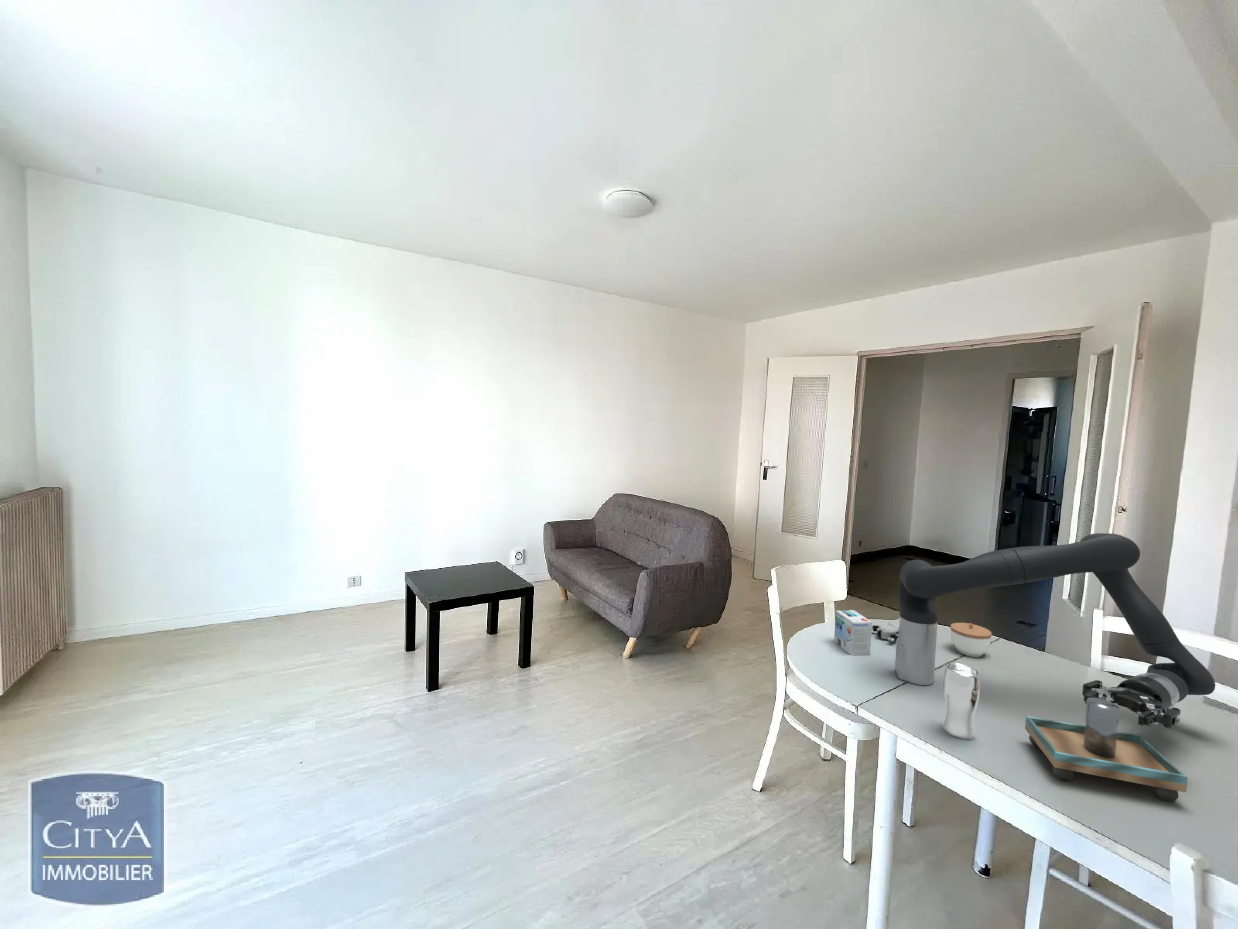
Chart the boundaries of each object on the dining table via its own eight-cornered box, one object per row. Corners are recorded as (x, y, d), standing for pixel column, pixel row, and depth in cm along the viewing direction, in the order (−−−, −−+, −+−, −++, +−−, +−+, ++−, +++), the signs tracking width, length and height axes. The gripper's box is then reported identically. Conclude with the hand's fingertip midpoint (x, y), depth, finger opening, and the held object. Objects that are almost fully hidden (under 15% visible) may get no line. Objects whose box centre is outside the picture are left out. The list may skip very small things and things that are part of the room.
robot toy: (891, 650, 164) (929, 642, 168) (891, 636, 164) (929, 629, 167) (864, 635, 176) (900, 628, 179) (864, 622, 175) (900, 616, 179)
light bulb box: (833, 641, 168) (834, 609, 167) (852, 641, 168) (854, 609, 168) (850, 656, 157) (852, 622, 156) (871, 655, 158) (873, 621, 157)
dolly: (1053, 781, 101) (1055, 753, 101) (1024, 741, 114) (1026, 716, 114) (1184, 807, 95) (1187, 777, 94) (1137, 761, 108) (1139, 734, 107)
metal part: (1090, 755, 103) (1094, 708, 102) (1078, 741, 107) (1082, 696, 107) (1120, 760, 101) (1124, 712, 100) (1107, 746, 106) (1111, 700, 105)
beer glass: (977, 744, 113) (982, 679, 112) (941, 734, 117) (945, 671, 116) (975, 729, 119) (980, 667, 118) (940, 720, 123) (944, 660, 122)
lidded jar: (964, 643, 167) (965, 616, 167) (998, 657, 157) (1000, 628, 157) (941, 648, 164) (942, 620, 163) (975, 662, 154) (976, 632, 153)
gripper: (1108, 663, 119) (1072, 677, 112) (1196, 692, 106) (1162, 710, 99) (1105, 694, 119) (1070, 710, 112) (1193, 726, 107) (1159, 746, 100)
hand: (1113, 710), depth 106 cm, fingers open, 8 cm apart
